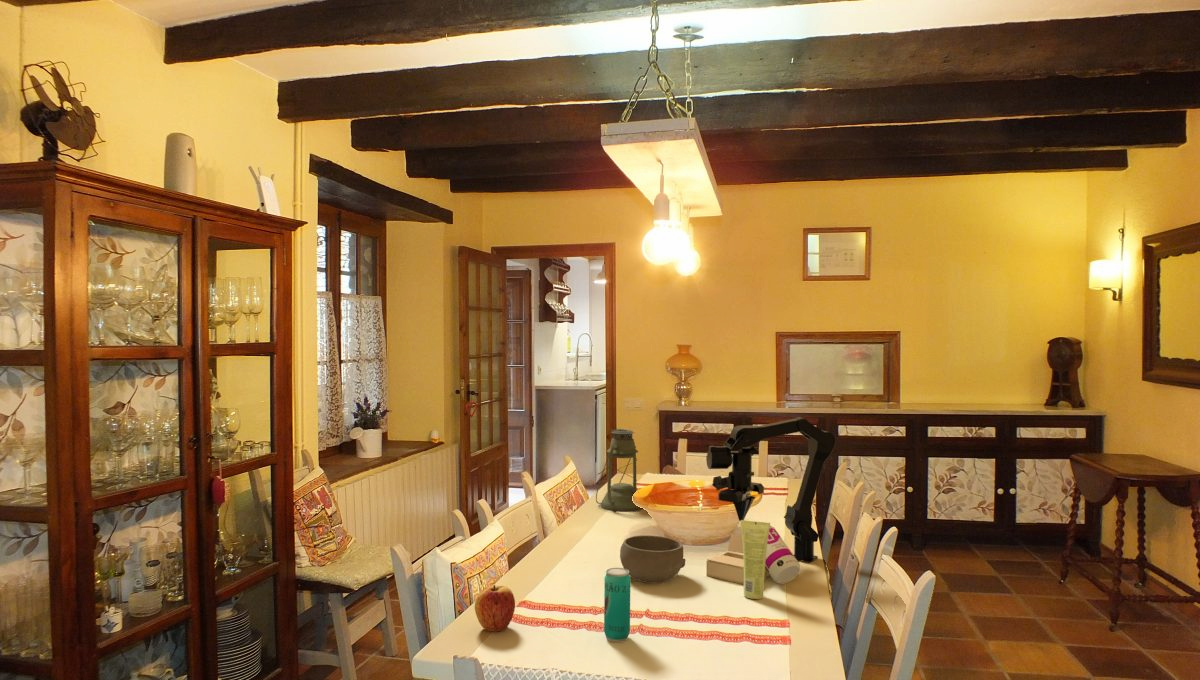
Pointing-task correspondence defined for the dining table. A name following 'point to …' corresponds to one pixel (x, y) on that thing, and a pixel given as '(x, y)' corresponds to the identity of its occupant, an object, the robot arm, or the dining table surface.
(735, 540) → the flap
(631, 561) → the bowl
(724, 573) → the carton
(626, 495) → the lantern
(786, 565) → the supplement can
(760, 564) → the tube
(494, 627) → the apple
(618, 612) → the beverage can
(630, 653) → the dining table surface
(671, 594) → the dining table surface
